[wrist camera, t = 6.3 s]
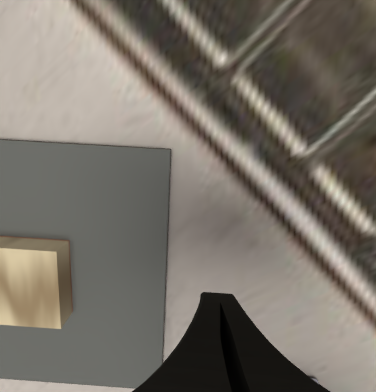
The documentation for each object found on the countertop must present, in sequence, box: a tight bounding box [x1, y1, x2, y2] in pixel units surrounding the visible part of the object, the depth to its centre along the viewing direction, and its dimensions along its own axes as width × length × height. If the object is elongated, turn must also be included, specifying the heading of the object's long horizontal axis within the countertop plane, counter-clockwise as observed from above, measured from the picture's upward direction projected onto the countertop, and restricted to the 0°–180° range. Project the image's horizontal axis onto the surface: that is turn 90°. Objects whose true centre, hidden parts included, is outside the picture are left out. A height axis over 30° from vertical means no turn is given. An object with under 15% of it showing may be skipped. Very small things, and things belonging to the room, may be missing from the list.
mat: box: [0, 139, 171, 389], centre depth 22 cm, size 20×16×1 cm
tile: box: [0, 236, 73, 329], centre depth 21 cm, size 6×2×7 cm
